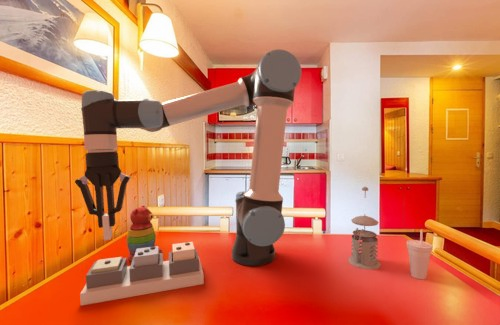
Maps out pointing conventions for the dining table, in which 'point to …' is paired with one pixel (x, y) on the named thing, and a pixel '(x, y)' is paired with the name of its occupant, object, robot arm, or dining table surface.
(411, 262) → the smoothie
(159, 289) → the button panel
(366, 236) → the french press
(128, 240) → the stacking bear
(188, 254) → the button two dot
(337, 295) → the dining table surface
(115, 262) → the button one dot
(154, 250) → the button three dot
